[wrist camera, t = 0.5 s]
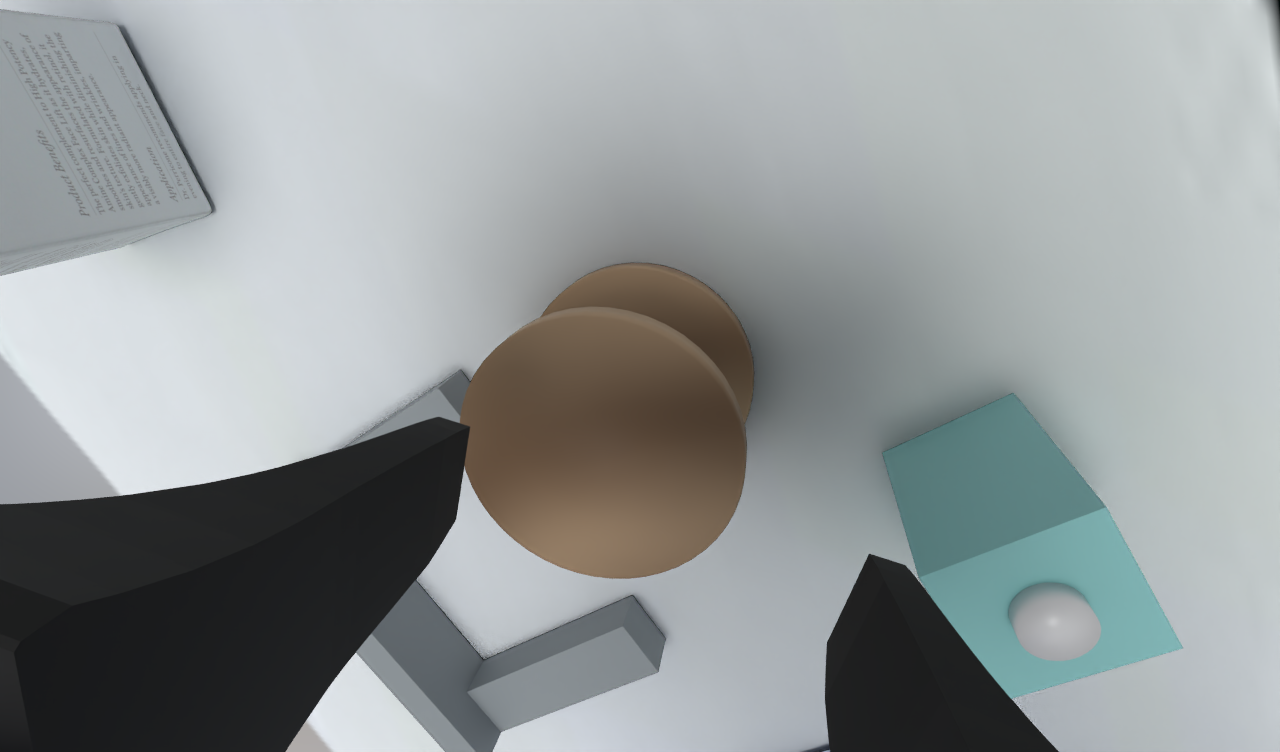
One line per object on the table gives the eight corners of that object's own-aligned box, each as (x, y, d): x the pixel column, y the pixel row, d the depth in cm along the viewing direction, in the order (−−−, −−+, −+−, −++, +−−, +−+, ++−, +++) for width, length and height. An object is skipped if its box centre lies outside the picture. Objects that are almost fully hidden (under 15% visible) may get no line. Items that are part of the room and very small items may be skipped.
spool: (797, 410, 20) (803, 511, 15) (616, 502, 23) (569, 614, 18) (671, 216, 19) (632, 255, 14) (493, 336, 22) (404, 407, 16)
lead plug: (1072, 499, 20) (1199, 669, 14) (942, 550, 21) (1006, 723, 15) (1013, 392, 19) (1119, 523, 13) (882, 452, 21) (924, 595, 15)
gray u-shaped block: (665, 639, 25) (651, 704, 22) (494, 707, 28) (463, 772, 25) (460, 369, 22) (415, 406, 20) (297, 478, 25) (239, 522, 23)
